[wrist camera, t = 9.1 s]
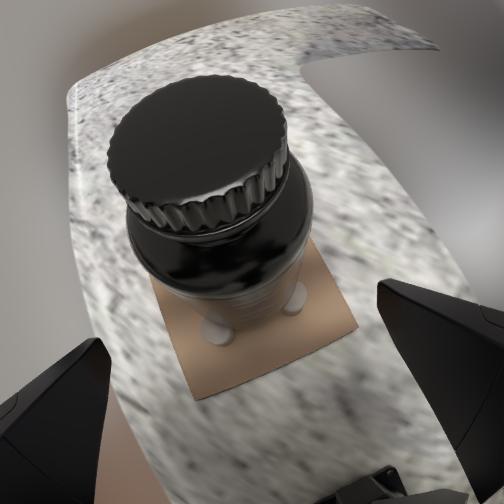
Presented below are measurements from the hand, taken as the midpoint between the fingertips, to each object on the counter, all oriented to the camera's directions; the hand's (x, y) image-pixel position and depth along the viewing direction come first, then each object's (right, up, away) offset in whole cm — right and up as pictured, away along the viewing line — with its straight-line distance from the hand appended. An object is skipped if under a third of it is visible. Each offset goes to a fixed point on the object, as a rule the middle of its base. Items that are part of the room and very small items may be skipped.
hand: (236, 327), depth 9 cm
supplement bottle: (0, +1, +9) cm, 10 cm away
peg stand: (0, -1, +13) cm, 13 cm away
